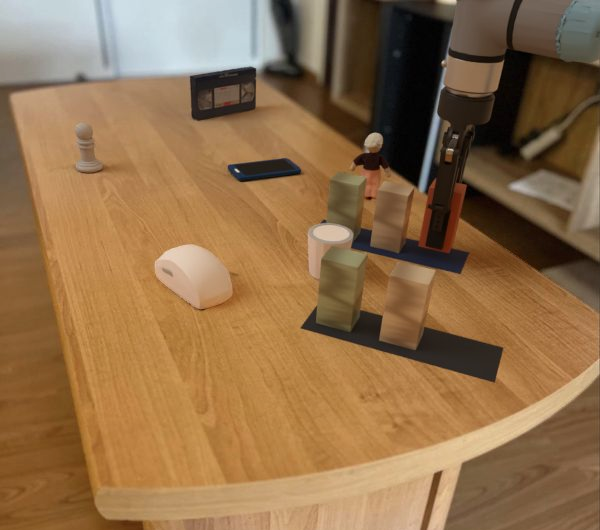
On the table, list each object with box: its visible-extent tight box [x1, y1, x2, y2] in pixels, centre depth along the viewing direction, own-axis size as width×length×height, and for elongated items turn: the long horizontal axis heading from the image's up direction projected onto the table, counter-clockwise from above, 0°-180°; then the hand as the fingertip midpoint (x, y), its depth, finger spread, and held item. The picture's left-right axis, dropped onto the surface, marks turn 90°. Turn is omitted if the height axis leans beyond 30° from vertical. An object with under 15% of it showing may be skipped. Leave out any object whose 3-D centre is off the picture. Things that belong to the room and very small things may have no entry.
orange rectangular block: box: [418, 178, 468, 253], centre depth 99 cm, size 5×4×10 cm
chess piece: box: [74, 122, 104, 174], centre depth 123 cm, size 5×5×9 cm
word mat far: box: [306, 219, 470, 275], centre depth 106 cm, size 26×8×1 cm, turn 68°
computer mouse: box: [154, 243, 234, 310], centre depth 91 cm, size 6×13×6 cm, turn 42°
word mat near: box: [300, 305, 504, 384], centre depth 85 cm, size 26×8×1 cm, turn 68°
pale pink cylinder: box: [307, 222, 354, 280], centre depth 96 cm, size 7×7×7 cm
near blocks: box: [316, 246, 437, 350], centre depth 83 cm, size 14×4×10 cm, turn 68°
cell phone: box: [227, 157, 302, 182], centre depth 129 cm, size 7×14×1 cm, turn 115°
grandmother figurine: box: [349, 132, 392, 203], centre depth 117 cm, size 8×4×13 cm, turn 88°
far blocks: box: [325, 171, 416, 253], centre depth 104 cm, size 13×4×10 cm, turn 68°
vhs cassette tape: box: [189, 66, 257, 121], centre depth 156 cm, size 18×3×10 cm, turn 130°
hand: (437, 240), depth 102 cm, fingers closed on orange rectangular block, 4 cm apart
